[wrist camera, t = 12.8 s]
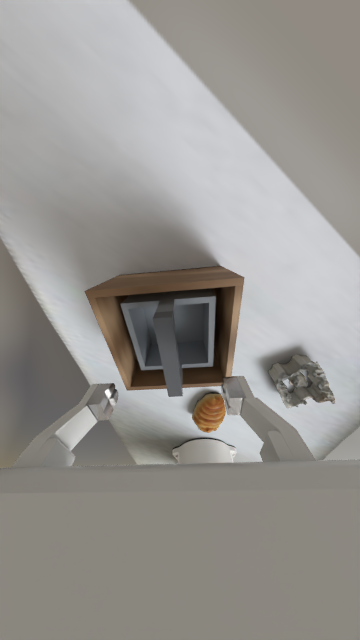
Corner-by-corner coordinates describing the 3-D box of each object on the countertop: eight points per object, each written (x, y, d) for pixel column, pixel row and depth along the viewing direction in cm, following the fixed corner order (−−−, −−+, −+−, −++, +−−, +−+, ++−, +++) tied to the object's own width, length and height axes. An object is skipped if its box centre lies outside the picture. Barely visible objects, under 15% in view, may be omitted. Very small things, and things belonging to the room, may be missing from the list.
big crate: (216, 347, 22) (229, 385, 16) (141, 351, 23) (127, 390, 17) (220, 266, 16) (244, 277, 10) (119, 275, 17) (84, 291, 11)
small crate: (206, 341, 21) (220, 394, 14) (149, 345, 22) (132, 398, 14) (206, 283, 17) (227, 312, 9) (135, 289, 17) (100, 322, 10)
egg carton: (316, 383, 27) (337, 404, 23) (277, 395, 29) (291, 417, 25) (308, 348, 23) (332, 367, 19) (263, 365, 25) (277, 385, 21)
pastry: (197, 389, 28) (200, 408, 25) (229, 391, 28) (236, 410, 25) (191, 414, 32) (192, 433, 29) (218, 415, 33) (223, 435, 29)
